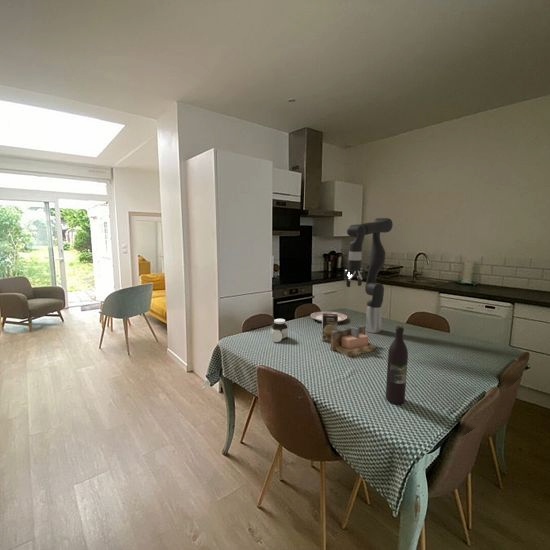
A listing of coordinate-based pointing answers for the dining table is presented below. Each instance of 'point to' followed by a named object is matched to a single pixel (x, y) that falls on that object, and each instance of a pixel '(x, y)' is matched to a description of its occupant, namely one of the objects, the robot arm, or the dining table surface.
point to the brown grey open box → (338, 334)
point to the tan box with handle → (354, 340)
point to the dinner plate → (319, 314)
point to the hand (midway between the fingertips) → (353, 286)
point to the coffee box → (328, 325)
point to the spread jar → (279, 330)
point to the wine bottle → (397, 369)
